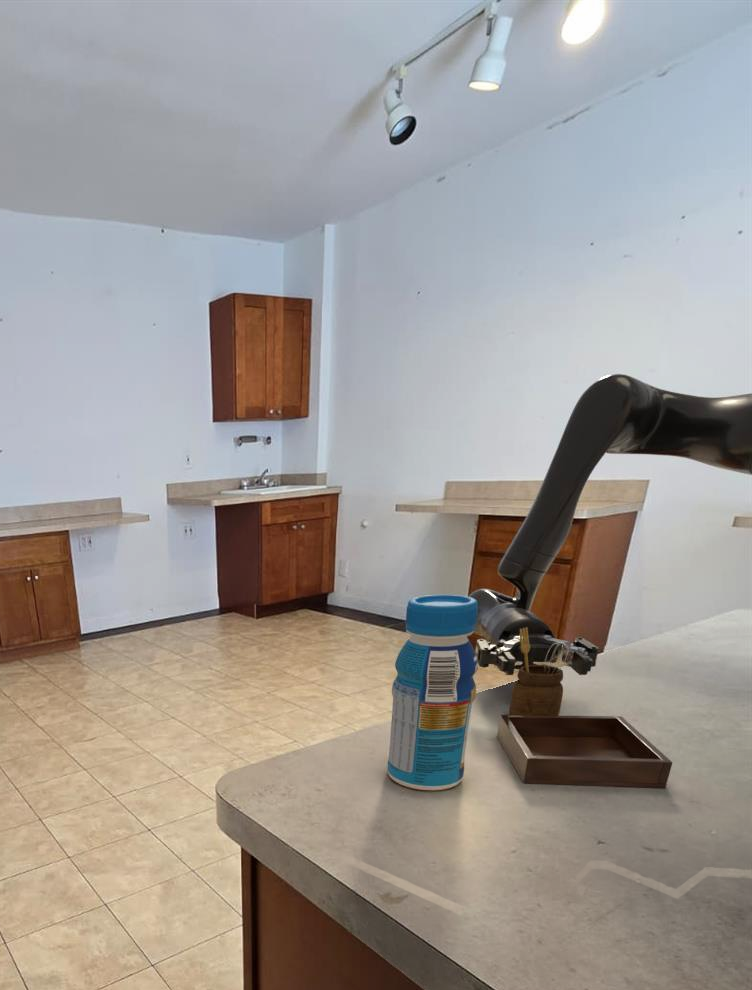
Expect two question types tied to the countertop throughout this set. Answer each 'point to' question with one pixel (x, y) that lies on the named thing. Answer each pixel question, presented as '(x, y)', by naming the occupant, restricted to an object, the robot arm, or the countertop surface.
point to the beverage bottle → (433, 693)
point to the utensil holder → (536, 685)
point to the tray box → (581, 751)
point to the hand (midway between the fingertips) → (548, 667)
